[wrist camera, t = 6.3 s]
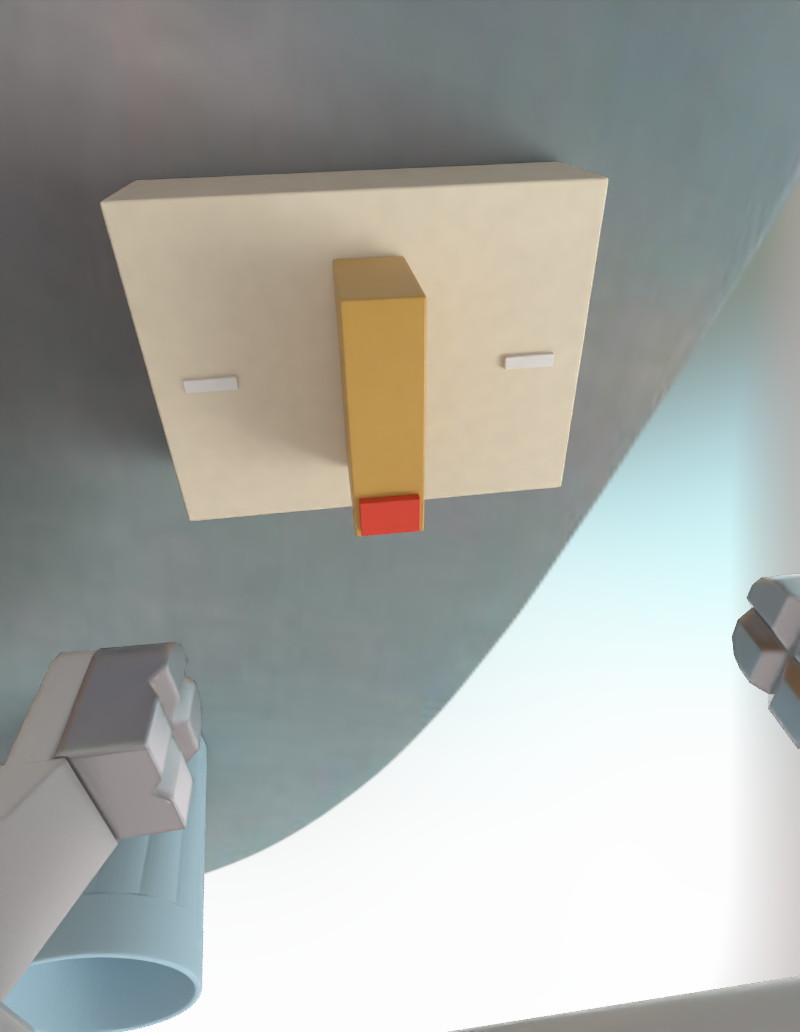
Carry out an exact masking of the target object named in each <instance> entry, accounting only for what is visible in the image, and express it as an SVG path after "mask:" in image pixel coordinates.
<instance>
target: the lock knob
mask: <svg viewBox="0 0 800 1032" xmlns="http://www.w3.org/2000/svg"><path fill="white" fill-rule="evenodd" d="M333 274H334V287H335V301H336V315H337V328H338V342H339V355H340V369H341V382H342V396H343V410H344V423H345V437H346V450H347V464H348V474H349V483H350V492H351V501H352V510H353V519H354V528H355V534H356V536H368V535H380V534H391V533H403V532H414V531H422V530H423V529H424V498H425V419H426V341H427V297H426V295H425V293H424V292H423V290H422V288H421V286H420V284H419V283H418V281H417V279H416V277H415V275H414V274H413V272H412V270H411V268H410V266H409V265H408V263H407V261H406V259H405V257H403V256H398V257H375V258H353V259H335V260H333Z"/></svg>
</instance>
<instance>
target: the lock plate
mask: <svg viewBox="0 0 800 1032" xmlns="http://www.w3.org/2000/svg"><path fill="white" fill-rule="evenodd" d="M607 186H608V178H607V177H605V176H602V175H599V174H596V173H593V172H590V171H587V170H584V169H581V168H577V167H574V166H571V165H568V164H565V163H562V162H538V163H516V164H493V165H471V166H448V167H426V168H403V169H380V170H358V171H335V172H313V173H290V174H268V175H245V176H223V177H200V178H177V179H155V180H135V181H133V182H132V183H130V184H129V185H127V186H125V187H124V188H122V189H120V190H119V191H117V192H115V193H114V194H112V195H111V196H109V197H107V198H106V199H104V200H102V201H101V202H100V206H101V210H102V213H103V217H104V221H105V224H106V228H107V231H108V235H109V238H110V242H111V245H112V249H113V252H114V256H115V259H116V263H117V267H118V270H119V274H120V277H121V281H122V284H123V288H124V291H125V295H126V298H127V302H128V305H129V309H130V313H131V316H132V320H133V323H134V327H135V330H136V334H137V337H138V341H139V344H140V348H141V351H142V355H143V359H144V362H145V366H146V369H147V373H148V376H149V380H150V383H151V387H152V390H153V394H154V397H155V401H156V405H157V408H158V412H159V415H160V419H161V422H162V426H163V429H164V433H165V436H166V440H167V443H168V447H169V451H170V454H171V458H172V461H173V465H174V468H175V472H176V475H177V479H178V482H179V486H180V489H181V493H182V497H183V500H184V504H185V507H186V511H187V514H188V518H189V520H190V521H197V520H208V519H219V518H230V517H240V516H251V515H262V514H273V513H284V512H294V511H305V510H316V509H327V508H338V507H348V506H352V501H351V492H350V483H349V474H348V464H347V450H346V437H345V423H344V410H343V396H342V382H341V369H340V355H339V342H338V328H337V315H336V301H335V287H334V274H333V260H335V259H353V258H375V257H398V256H403V257H405V259H406V261H407V263H408V265H409V266H410V268H411V270H412V272H413V274H414V275H415V277H416V279H417V281H418V283H419V284H420V286H421V288H422V290H423V292H424V293H425V295H426V297H427V341H426V419H425V498H424V499H435V498H446V497H456V496H467V495H478V494H489V493H500V492H510V491H521V490H532V489H543V488H554V487H560V486H561V483H562V476H563V470H564V463H565V457H566V451H567V444H568V438H569V431H570V425H571V418H572V412H573V405H574V399H575V393H576V386H577V380H578V373H579V367H580V360H581V354H582V347H583V341H584V335H585V328H586V322H587V315H588V309H589V302H590V296H591V290H592V283H593V277H594V270H595V264H596V257H597V251H598V244H599V238H600V232H601V225H602V219H603V212H604V206H605V199H606V193H607Z"/></svg>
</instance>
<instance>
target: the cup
mask: <svg viewBox="0 0 800 1032" xmlns="http://www.w3.org/2000/svg"><path fill="white" fill-rule="evenodd" d="M187 765H188V767H189V770H190V772H191V774H192V777H193V779H194V782H193V788H192V794H191V799H190V805H189V811H188V817H187V822H186V828H185V829H182V830H176V831H170V832H163V833H157V834H151V835H144V836H138V837H132V838H125V839H119V840H117V842H118V845H117V846H116V847H115V849H114V850H113V852H112V853H111V854H110V856H109V857H108V858H107V860H106V861H105V862H104V864H103V865H102V867H101V868H100V869H99V871H98V872H97V873H96V875H95V876H94V878H93V879H92V880H91V882H90V883H89V884H88V886H87V887H86V888H85V890H84V891H83V893H82V894H81V895H80V897H79V898H78V899H77V901H76V902H75V904H74V905H73V906H72V908H71V909H70V910H69V912H68V913H67V915H66V916H65V917H64V919H63V920H62V921H61V923H60V924H59V925H58V927H57V928H56V930H55V931H54V932H53V934H52V935H51V936H50V938H49V939H48V941H47V942H46V943H45V945H44V946H43V947H42V949H41V950H40V951H39V953H38V954H37V956H36V957H35V958H34V960H33V961H32V962H31V964H30V965H29V967H28V968H27V969H26V971H25V972H24V973H23V975H22V976H21V977H20V979H19V980H18V982H17V983H16V984H15V986H14V987H13V988H12V990H11V991H10V993H9V994H8V995H7V997H6V998H5V999H4V1001H3V1002H2V1003H3V1004H5V1005H6V1006H7V1007H8V1008H10V1009H11V1010H12V1011H13V1012H15V1013H16V1014H17V1015H18V1016H20V1017H21V1018H22V1019H23V1020H25V1021H26V1022H27V1023H28V1024H30V1025H31V1026H32V1027H33V1029H34V1031H35V1032H122V1031H128V1030H133V1029H137V1028H142V1027H146V1026H150V1025H153V1024H156V1023H159V1022H162V1021H165V1020H167V1019H170V1018H172V1017H174V1016H176V1015H178V1014H180V1013H182V1012H184V1011H185V1010H187V1009H188V1008H189V1007H191V1006H192V1005H193V1004H194V1003H195V1002H196V1000H197V999H198V998H199V996H200V993H201V989H202V957H203V954H202V953H203V901H204V859H205V813H206V766H207V748H206V745H205V742H204V740H203V738H202V737H201V740H200V747H199V750H198V752H197V753H196V754H195V755H194V756H193V757H192V758H191V760H190V761H189V762H188V763H187Z"/></svg>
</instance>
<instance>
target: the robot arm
mask: <svg viewBox="0 0 800 1032" xmlns="http://www.w3.org/2000/svg"><path fill="white" fill-rule="evenodd" d="M747 599H748V601H749V603H750V605H751V606H752V608H751V609H750V610H749V611H748V612H747V613H745V614H744V615H743V616H742V617H741V618H740V619H738V621H737V624H736V627H735V630H734V633H733V635H732V641H733V650H734V656H735V658H736V660H737V663H738V665H739V668H740V669H741V671H742V672H743V674H744V675H745V677H746V678H747V679H748V681H749V682H750V683H751V684H753V685H754V686H756V687H758V688H759V689H761V690H763V691H765V692H766V693H768V694H769V705H768V709H769V710H770V712H771V713H772V714H773V715H774V717H775V718H776V719H777V721H778V722H779V724H780V725H781V727H782V728H783V729H784V730H785V732H786V733H787V735H788V736H789V737H790V739H791V740H792V742H793V743H794V744H795V746H796V747H797V749H800V573H796V574H788V575H779V576H771V577H762V578H760V579H759V580H758V581H757V582H755V583H754V584H753V585H752V587H751V590H750V592H749V594H748V596H747ZM187 661H188V660H187V657H186V655H185V652H184V650H183V647H182V645H181V644H180V643H176V642H170V643H159V644H147V645H135V646H123V647H112V648H100V649H97V650H85V651H73V652H61V653H60V654H59V655H58V656H57V657H56V658H55V659H54V660H52V662H51V663H50V665H49V667H48V670H47V672H46V674H45V676H44V678H43V681H42V683H41V685H40V687H39V689H38V692H37V694H36V696H35V698H34V700H33V703H32V705H31V707H30V709H29V711H28V714H27V716H26V718H25V720H24V722H23V725H22V727H21V729H20V731H19V733H18V736H17V738H16V740H15V742H14V745H13V747H12V749H11V751H10V753H9V756H8V758H7V760H6V762H5V764H4V765H0V1032H35V1031H34V1029H33V1027H32V1026H31V1025H30V1024H28V1023H27V1022H26V1021H25V1020H23V1019H22V1018H21V1017H20V1016H18V1015H17V1014H16V1013H15V1012H13V1011H12V1010H11V1009H10V1008H8V1007H7V1006H6V1005H5V1004H3V1003H2V1002H3V1001H4V999H5V998H6V997H7V995H8V994H9V993H10V991H11V990H12V988H13V987H14V986H15V984H16V983H17V982H18V980H19V979H20V977H21V976H22V975H23V973H24V972H25V971H26V969H27V968H28V967H29V965H30V964H31V962H32V961H33V960H34V958H35V957H36V956H37V954H38V953H39V951H40V950H41V949H42V947H43V946H44V945H45V943H46V942H47V941H48V939H49V938H50V936H51V935H52V934H53V932H54V931H55V930H56V928H57V927H58V925H59V924H60V923H61V921H62V920H63V919H64V917H65V916H66V915H67V913H68V912H69V910H70V909H71V908H72V906H73V905H74V904H75V902H76V901H77V899H78V898H79V897H80V895H81V894H82V893H83V891H84V890H85V888H86V887H87V886H88V884H89V883H90V882H91V880H92V879H93V878H94V876H95V875H96V873H97V872H98V871H99V869H100V868H101V867H102V865H103V864H104V862H105V861H106V860H107V858H108V857H109V856H110V854H111V853H112V852H113V850H114V849H115V847H116V846H117V845H118V842H117V840H119V839H125V838H132V837H138V836H144V835H151V834H157V833H163V832H170V831H176V830H182V829H185V828H186V822H187V817H188V811H189V805H190V799H191V794H192V788H193V782H194V779H193V777H192V774H191V772H190V770H189V767H188V765H187V763H188V762H189V761H190V760H191V758H192V757H193V756H194V755H195V754H196V753H197V752H198V750H199V747H200V740H201V734H202V705H201V700H200V694H199V691H198V688H197V685H196V682H195V681H193V680H192V679H190V678H189V677H187V676H185V671H186V666H187ZM451 1032H800V976H796V977H789V978H783V979H777V980H770V981H764V982H758V983H751V984H745V985H739V986H733V987H726V988H720V989H714V990H708V991H701V992H695V993H689V994H682V995H677V996H670V997H664V998H657V999H652V1000H646V1001H639V1002H632V1003H626V1004H620V1005H614V1006H607V1007H602V1008H595V1009H588V1010H582V1011H576V1012H570V1013H563V1014H557V1015H551V1016H544V1017H539V1018H532V1019H526V1020H519V1021H514V1022H507V1023H501V1024H494V1025H488V1026H482V1027H475V1028H469V1029H463V1030H457V1031H451Z"/></svg>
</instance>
